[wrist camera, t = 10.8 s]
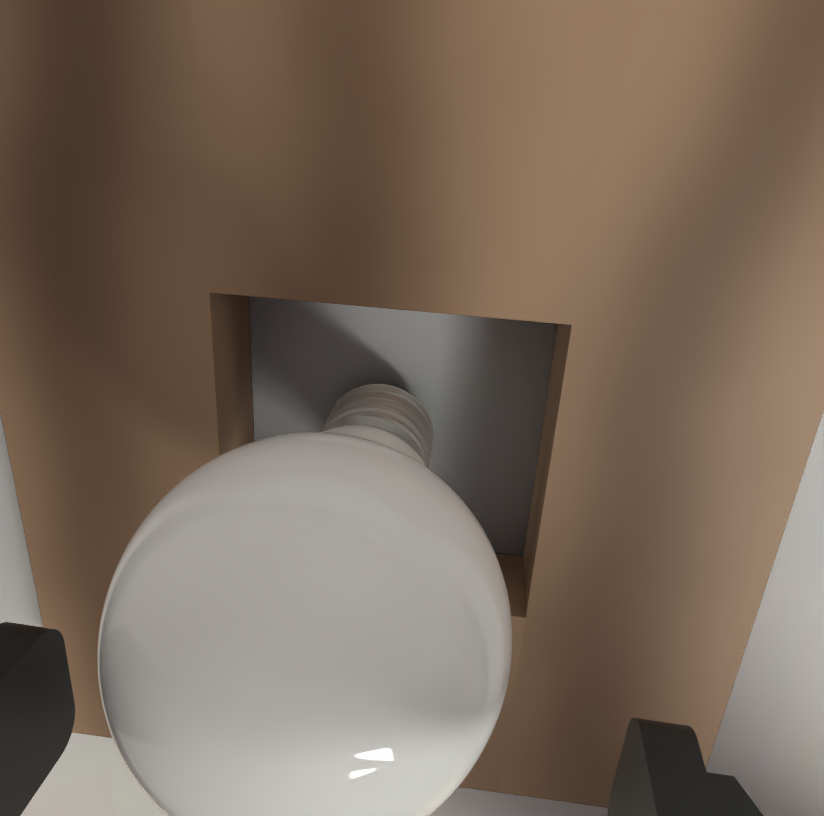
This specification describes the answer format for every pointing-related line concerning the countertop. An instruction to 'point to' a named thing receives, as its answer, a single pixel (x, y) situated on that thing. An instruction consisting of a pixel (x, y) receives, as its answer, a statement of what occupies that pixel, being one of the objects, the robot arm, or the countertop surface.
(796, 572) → the countertop surface
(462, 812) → the countertop surface
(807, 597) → the countertop surface
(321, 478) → the lightbulb
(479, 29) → the holder block
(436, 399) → the countertop surface
